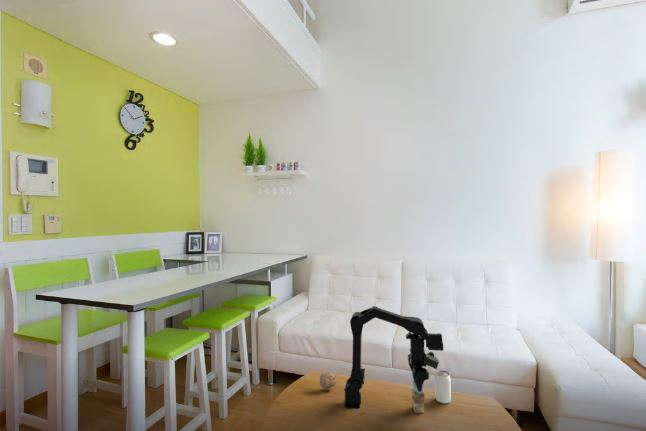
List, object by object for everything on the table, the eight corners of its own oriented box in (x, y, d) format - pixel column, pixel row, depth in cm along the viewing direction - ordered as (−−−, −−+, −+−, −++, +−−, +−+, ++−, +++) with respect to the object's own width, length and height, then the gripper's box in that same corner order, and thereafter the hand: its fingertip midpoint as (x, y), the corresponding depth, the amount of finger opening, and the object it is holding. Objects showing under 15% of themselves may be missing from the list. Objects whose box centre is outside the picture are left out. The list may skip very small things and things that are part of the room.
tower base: (414, 412, 142) (414, 403, 142) (413, 407, 146) (412, 397, 146) (424, 413, 142) (423, 403, 142) (422, 407, 146) (422, 398, 146)
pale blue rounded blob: (413, 393, 142) (413, 383, 142) (412, 388, 146) (412, 379, 146) (423, 394, 142) (423, 384, 142) (422, 389, 146) (422, 379, 146)
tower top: (414, 403, 142) (414, 393, 142) (412, 398, 146) (412, 388, 146) (424, 403, 142) (424, 393, 142) (421, 398, 146) (421, 388, 146)
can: (452, 404, 148) (451, 377, 148) (436, 403, 149) (435, 375, 149) (449, 396, 154) (449, 370, 154) (434, 395, 155) (434, 369, 155)
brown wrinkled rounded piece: (336, 387, 165) (336, 370, 165) (335, 393, 158) (335, 376, 158) (320, 386, 165) (320, 370, 165) (319, 393, 159) (319, 376, 159)
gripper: (441, 358, 134) (442, 398, 134) (432, 341, 152) (433, 376, 152) (412, 357, 135) (413, 397, 135) (407, 340, 154) (407, 375, 154)
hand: (418, 385), depth 144 cm, fingers open, 9 cm apart
